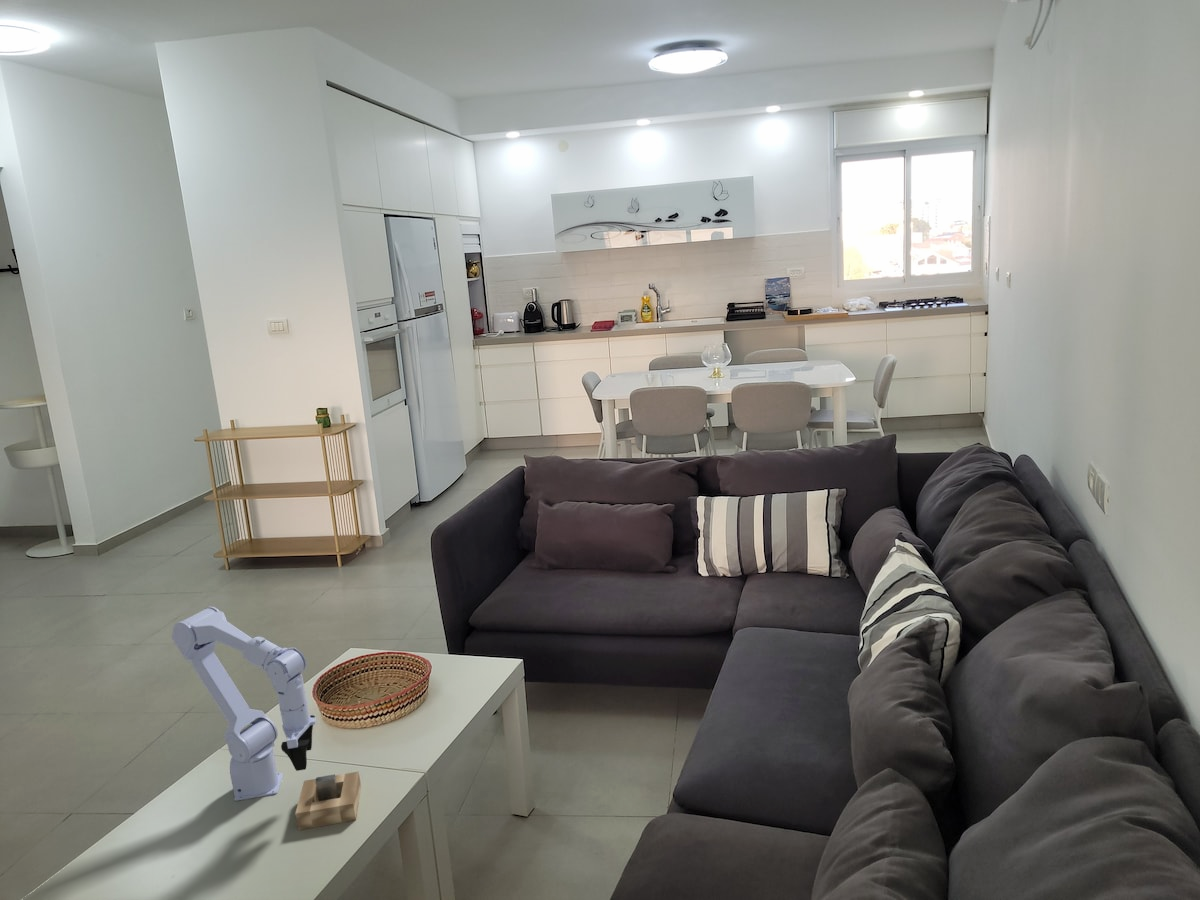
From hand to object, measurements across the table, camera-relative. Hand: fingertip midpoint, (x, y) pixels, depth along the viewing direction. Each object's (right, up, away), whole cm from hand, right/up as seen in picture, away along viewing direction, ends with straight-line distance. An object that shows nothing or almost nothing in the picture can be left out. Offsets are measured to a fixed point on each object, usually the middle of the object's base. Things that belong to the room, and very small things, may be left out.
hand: (303, 759), depth 198 cm
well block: (+6, -10, -2) cm, 12 cm away
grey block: (+6, -10, -2) cm, 12 cm away
